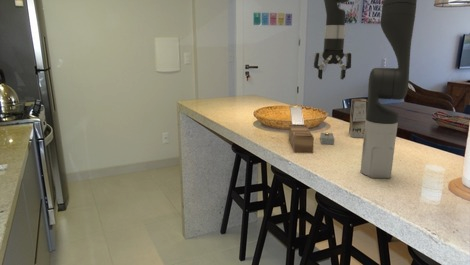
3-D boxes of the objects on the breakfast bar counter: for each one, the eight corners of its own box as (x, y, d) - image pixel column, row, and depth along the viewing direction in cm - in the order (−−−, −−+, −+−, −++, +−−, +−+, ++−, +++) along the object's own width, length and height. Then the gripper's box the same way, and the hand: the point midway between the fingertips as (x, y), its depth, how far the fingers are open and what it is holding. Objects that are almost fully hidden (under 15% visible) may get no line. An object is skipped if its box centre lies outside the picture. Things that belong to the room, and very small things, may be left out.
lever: (304, 124, 147) (301, 105, 155) (291, 124, 147) (289, 105, 156) (304, 126, 148) (301, 107, 156) (291, 126, 148) (289, 107, 157)
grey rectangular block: (333, 145, 141) (334, 137, 140) (321, 145, 142) (321, 136, 141) (332, 139, 150) (332, 132, 149) (320, 139, 151) (320, 131, 150)
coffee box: (366, 138, 151) (369, 101, 147) (350, 137, 152) (354, 101, 148) (362, 132, 160) (366, 98, 156) (348, 132, 161) (351, 97, 157)
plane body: (313, 152, 131) (314, 135, 129) (294, 152, 131) (294, 135, 130) (305, 139, 149) (306, 124, 147) (288, 139, 149) (289, 124, 147)
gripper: (350, 37, 139) (346, 78, 143) (314, 37, 139) (311, 78, 143) (355, 37, 131) (351, 80, 136) (317, 37, 132) (315, 80, 136)
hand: (331, 79), depth 140 cm, fingers open, 8 cm apart
